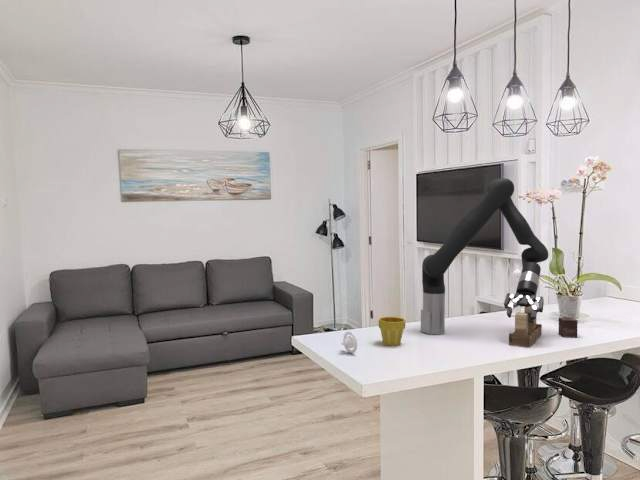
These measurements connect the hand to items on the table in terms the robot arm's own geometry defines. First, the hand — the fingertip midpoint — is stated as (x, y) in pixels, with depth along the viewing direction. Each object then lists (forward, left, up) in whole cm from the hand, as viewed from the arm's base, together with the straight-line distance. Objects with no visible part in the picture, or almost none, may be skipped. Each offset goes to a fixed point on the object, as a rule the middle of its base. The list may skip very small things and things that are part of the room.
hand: (520, 317), depth 199 cm
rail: (+8, +4, -11) cm, 14 cm away
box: (+29, +1, -11) cm, 31 cm away
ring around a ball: (-66, +19, -11) cm, 69 cm away
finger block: (+1, +1, -10) cm, 10 cm away
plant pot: (-44, +23, -11) cm, 51 cm away
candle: (+43, +41, -11) cm, 61 cm away
